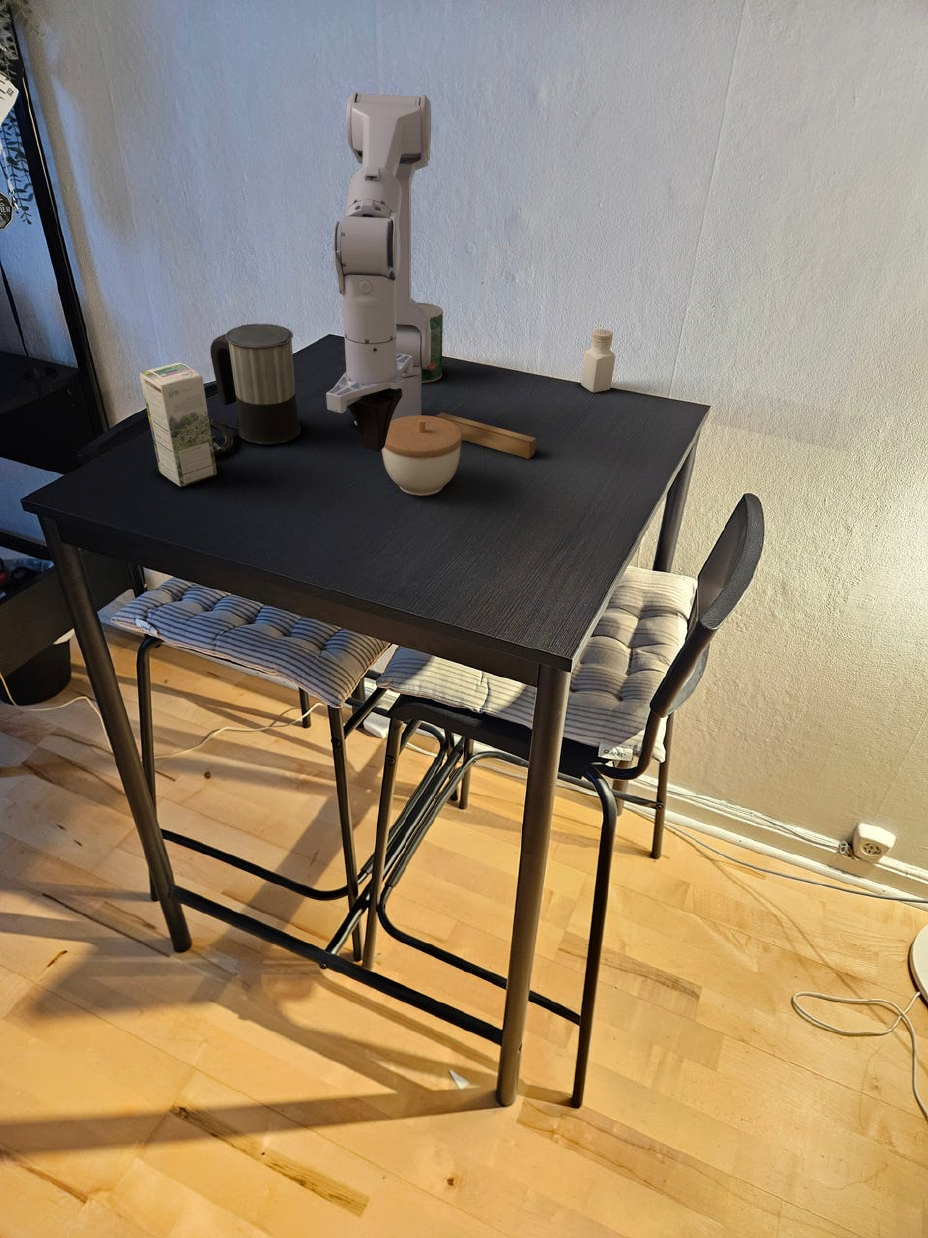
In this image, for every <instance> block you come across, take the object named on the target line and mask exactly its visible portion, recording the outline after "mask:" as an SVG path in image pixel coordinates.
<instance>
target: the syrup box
mask: <svg viewBox="0 0 928 1238" xmlns="http://www.w3.org/2000/svg"><path fill="white" fill-rule="evenodd" d="M139 378H140V382H141V387H142V393H143V397H144V402H145V407H146V412H147V417H148V422H149V427H150V432H151V436H152V440H153V441H152V442H153V447H154V452H155V456H156V462H157V467H158V471H159V473H160V474H161V475H163V476H164V477H166V478H167V479H168V480H169V481H171V482H172V483H174V484H175V485H177V486H179V487H180V488H182V487H185V486H189V485H191V484H194V483H197V482H200V481H202V480H205V479H208V478H212V477H213V476H216V475H217V474H218V471H217V465H216V458H215V455H214V451H213V444H212V437H213V436H212V432H211V431H212V430H211V428H210V424H209V419H210V418H209V412H208V411H209V410H208V405H207V404H208V403H207V399H206V398H207V397H206V391H205V384H204V379H203V376H202V375H201V374H200V373H199V372H197V371H196V370H194V369H193V368H192V367H190V366H188V365H187V364H185V363H183V362H180V361H178V362H175V363H171V364H167V365H163V366H159V367H155V368H151V369H148V370H144V371H141V372H139Z"/></svg>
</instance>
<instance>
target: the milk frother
mask: <svg viewBox="0 0 928 1238" xmlns="http://www.w3.org/2000/svg"><path fill="white" fill-rule="evenodd" d="M293 337H294V333H293V331H292V330H290V329H289V328H288V327H285V326H282V325H278V324H273V323H249V324H247V323H246V324H242V325H239V326H236V327H233V328H231V329H229V330H228V331H227V332H226V333H223V334H221V335H219V336H217V337H216V338H214V339H213V340H212V342H211V344H210V350H209V352H210V359H211V364H212V368H213V373H214V378H215V383H216V384H215V385H216V389H217V392H218V394H217V395H218V398H219V401H220V403H221V404H223V406H228V405H232V404H234V403H236V408H237V425H238V426H231V425H229V424H226V423H223V422H221V421H220V420H216V419H213V418H209V424H210V429H213V430H214V431H217V432H218V433H220V434H221V435H222V437H223V438H224V443H223V444H221V445H219V444H218V443H216V441H217V436H215V435H213V436H211V437H212V444H213V451H214V456H218V455H222V454H225V453H228V452H229V451H230V450H231V449H232V448H233V447H234V442H235V441H234V440H235V439H234V436H233V434H232V433H231V431H230V430H232V431H233V430H234V431H237V434H238V436H239V437H240V438H241V439H242V440H244V441H245V442H248V443H251V444H255V445H267V446H269V445H270V446H271V445H279V444H283V443H284V444H285V443H287V442H290V441H292V440H294V439H296V438H297V437H298V436H299V435H300V434H301V431H302V428H301V425H300V422H299V415H298V406H297V398H296V397H297V396H296V381H295V367H294V354H293V353H294V352H293V341H292V339H293Z"/></svg>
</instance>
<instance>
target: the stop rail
mask: <svg viewBox="0 0 928 1238" xmlns="http://www.w3.org/2000/svg"><path fill="white" fill-rule="evenodd" d="M434 417H439V418H443V419H446V420H448V421H451V422H453V423H454V424H456V425H457V426H458V427H459V428H460V430H461V432H462V441H464V442H468V443H471V444H476V445H478V446H482V447H486V448H490V449H493V450H497V451H499V452H504V453H506V454H510V455H514V456H516V457H517V456H518V457H521V458H524V459H530V458H531V457H533V456H534V455H535V451H536V440H537V438H536V437H533V436H530V435H525V434H522V433H518V432H515V431H511V430H507V429H503V428H500V427H496V426H493V425H489V424H486V423H482V422H478V421H474V420H471V419H467V418H463V417H460V416H456V415H453V414H449V413H445V412H440V413H438V414H435V415H434Z"/></svg>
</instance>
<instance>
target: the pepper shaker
mask: <svg viewBox="0 0 928 1238" xmlns="http://www.w3.org/2000/svg"><path fill="white" fill-rule="evenodd" d="M613 335H614V333H613V332H612V331H611V330H608V329H602V328H601V329H595V330H593V332H592V338H591V348H589V349H587V350H586V351H584V355H583V356H584V357H583V364H582V373H581V379H580V380H581V381H580V384H581V386H582V387H584V388H585V389H586V390H588V391H589V392H591V393H599V392H604V391H609V390H611V388H612V381H613V376H614V368H615V362H616V355H615V353H614V352H613V351H612V350H611V346H612V341H613Z"/></svg>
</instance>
